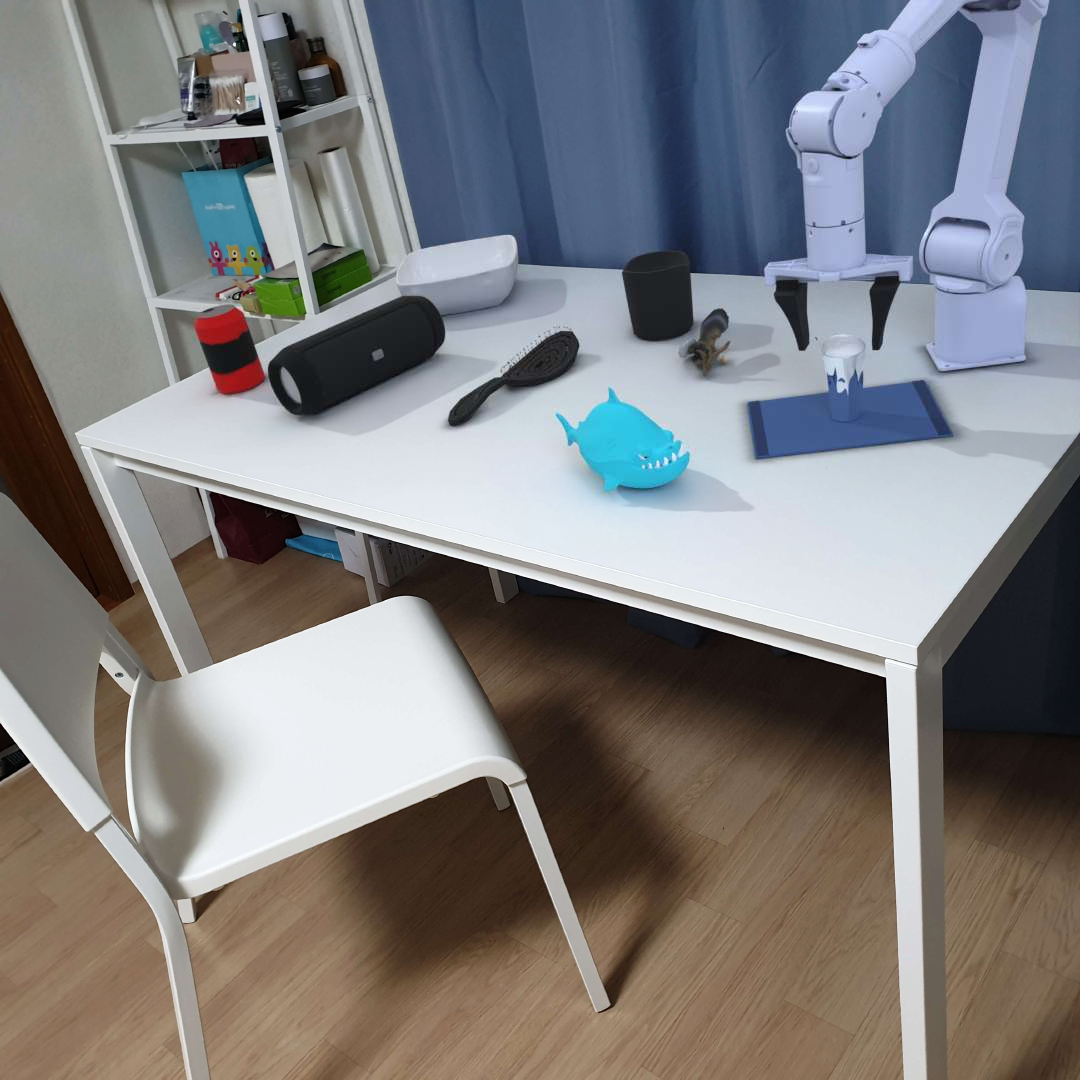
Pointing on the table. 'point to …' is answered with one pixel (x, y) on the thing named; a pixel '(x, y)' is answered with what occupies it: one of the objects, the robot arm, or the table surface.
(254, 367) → the soda can
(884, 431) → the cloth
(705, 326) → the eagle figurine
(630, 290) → the pen holder
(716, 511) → the table surface
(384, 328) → the portable speaker
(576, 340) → the hairbrush
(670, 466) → the toy shark
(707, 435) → the table surface
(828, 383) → the milkshake
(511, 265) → the bowl
